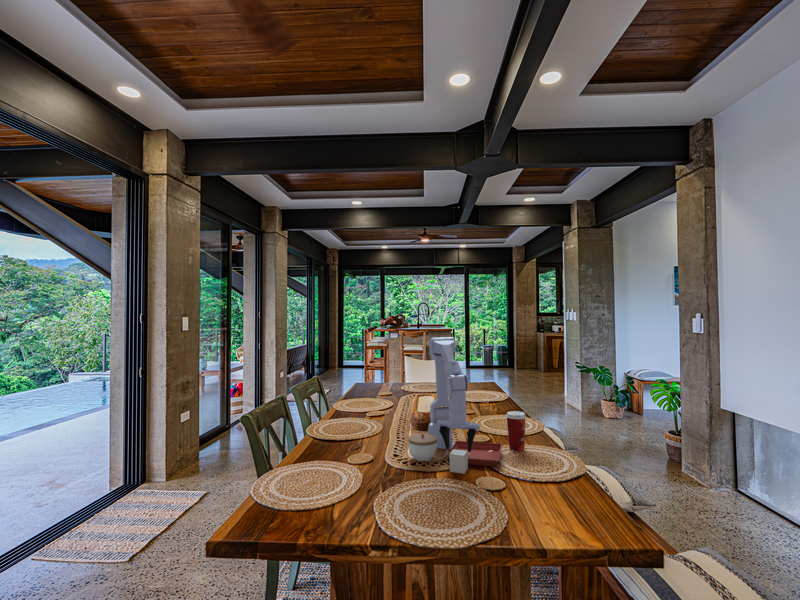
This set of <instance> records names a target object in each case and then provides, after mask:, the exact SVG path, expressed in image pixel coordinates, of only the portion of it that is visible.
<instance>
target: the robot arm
mask: <svg viewBox="0 0 800 600" xmlns="http://www.w3.org/2000/svg"><path fill="white" fill-rule="evenodd" d="M428 343H429V345H428V346H429V350H428V351H429V357H430V358H431V359H433V360H434V366H435V367H434V368H435V388H436V389H435V390H436V398H435V399H434V400H433V401H432V402H431V403H430V406H429V408H430V409H429V419H430V423H429V424H428V428H427V434H431V435H434V436H436V437H437V449H441V450H450V451H451V449H452V447H453V445H454V443H455V441H453V429H457V430H467V432H466V438H467V442H468V452H471V448H472V443H473V442H474V440H475V436H476V434H477V432H479V431H480V430H481V429H480V428H481V427H480V426H481V425H480V423H475V422H469V421H467V401H466V400H467V397H466V396H467V395H466V394H467V392H468V386H469V385H468V384H469V383H468V378H467V377H468V376H467V374H465V372H462V368H461V366H460V364H459V361H457V360H456V359H455V356H454V353H455V351H456V348H457V347H456V346H457V345H456V344H457V343H456V339H455V338H454V336H450V337H448V336H447V337H430V338H429V342H428Z"/></svg>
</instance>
